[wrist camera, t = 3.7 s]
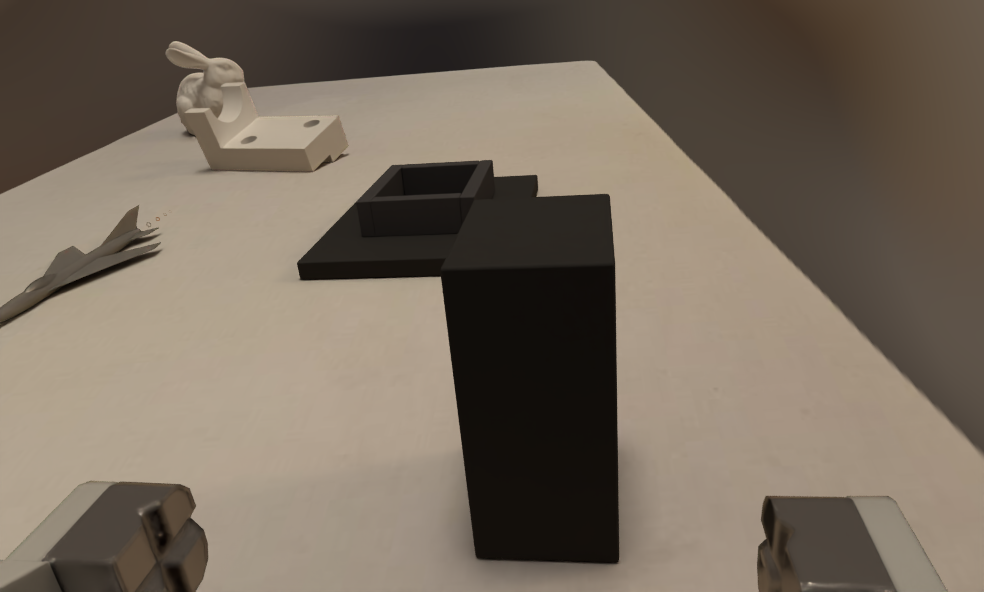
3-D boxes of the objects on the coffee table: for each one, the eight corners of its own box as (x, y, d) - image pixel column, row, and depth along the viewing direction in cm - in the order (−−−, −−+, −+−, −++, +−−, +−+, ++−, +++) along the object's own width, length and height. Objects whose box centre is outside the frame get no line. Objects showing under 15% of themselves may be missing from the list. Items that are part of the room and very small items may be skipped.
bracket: (215, 177, 77) (184, 112, 72) (252, 145, 82) (225, 82, 77) (316, 180, 72) (290, 110, 68) (348, 145, 77) (326, 79, 73)
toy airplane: (-68, 333, 43) (-85, 298, 42) (130, 219, 62) (122, 193, 61) (48, 330, 42) (34, 294, 41) (213, 215, 61) (206, 188, 60)
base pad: (538, 188, 60) (535, 144, 58) (518, 273, 43) (514, 215, 42) (376, 196, 62) (369, 153, 60) (300, 280, 46) (288, 225, 44)
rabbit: (263, 128, 96) (242, 34, 91) (199, 144, 90) (173, 44, 85) (216, 123, 104) (195, 36, 99) (154, 137, 98) (128, 45, 93)
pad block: (613, 444, 27) (609, 193, 23) (619, 563, 22) (615, 263, 18) (497, 443, 28) (473, 198, 24) (475, 558, 23) (439, 268, 18)
